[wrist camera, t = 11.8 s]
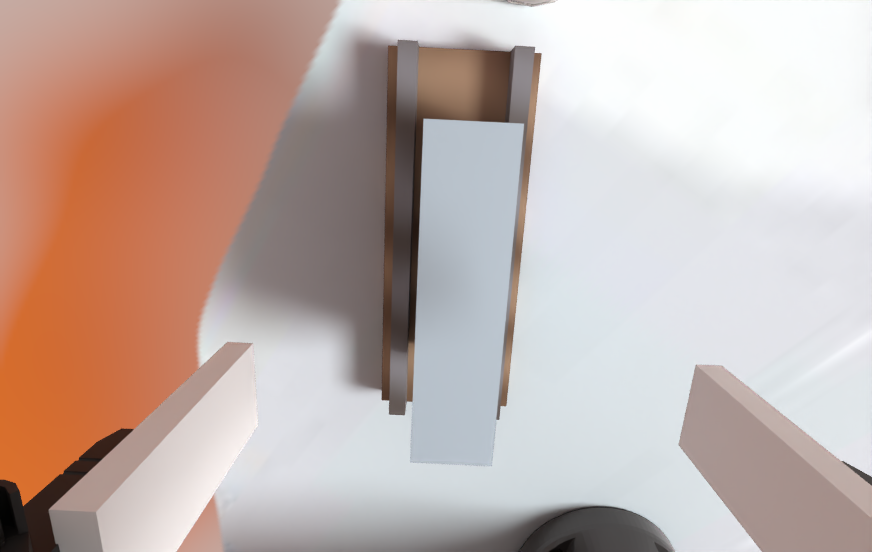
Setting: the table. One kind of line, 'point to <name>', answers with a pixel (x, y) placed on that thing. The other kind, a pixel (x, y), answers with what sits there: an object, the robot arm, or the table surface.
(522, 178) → the floor track
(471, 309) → the sliding panel
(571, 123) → the table surface
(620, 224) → the table surface
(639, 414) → the table surface
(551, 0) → the supplement can
